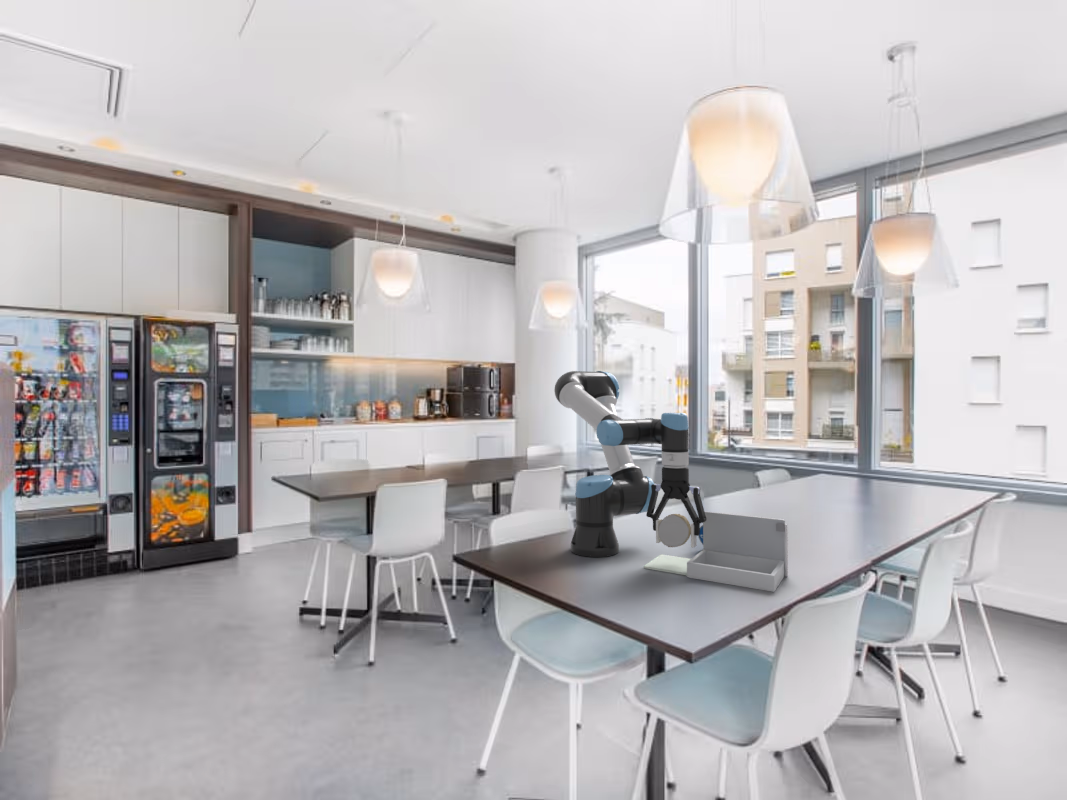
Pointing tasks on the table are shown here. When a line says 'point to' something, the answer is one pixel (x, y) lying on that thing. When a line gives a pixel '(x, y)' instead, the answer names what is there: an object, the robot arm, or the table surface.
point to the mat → (669, 564)
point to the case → (742, 551)
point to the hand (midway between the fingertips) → (676, 544)
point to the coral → (674, 530)
